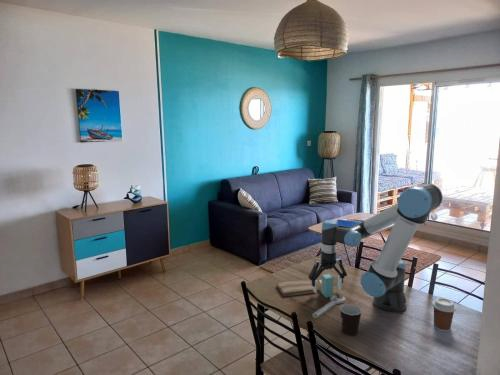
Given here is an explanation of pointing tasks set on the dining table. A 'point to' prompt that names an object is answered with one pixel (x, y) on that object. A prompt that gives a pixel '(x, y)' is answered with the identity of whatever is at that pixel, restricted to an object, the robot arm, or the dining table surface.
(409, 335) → the dining table surface
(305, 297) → the dining table surface
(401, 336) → the dining table surface
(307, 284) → the walnut board
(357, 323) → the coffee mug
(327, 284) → the light blue block
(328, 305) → the adjustable wrench
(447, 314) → the coffee cup
